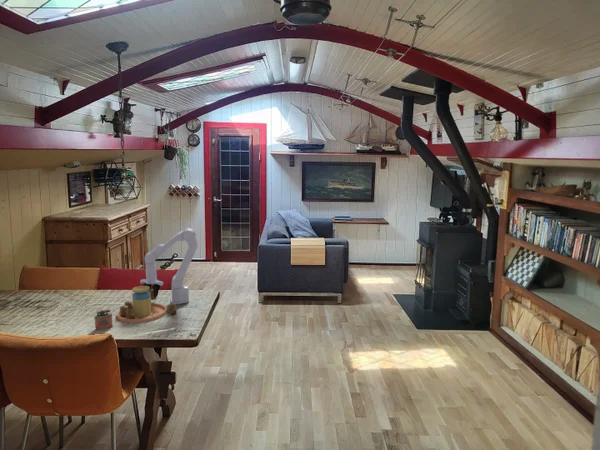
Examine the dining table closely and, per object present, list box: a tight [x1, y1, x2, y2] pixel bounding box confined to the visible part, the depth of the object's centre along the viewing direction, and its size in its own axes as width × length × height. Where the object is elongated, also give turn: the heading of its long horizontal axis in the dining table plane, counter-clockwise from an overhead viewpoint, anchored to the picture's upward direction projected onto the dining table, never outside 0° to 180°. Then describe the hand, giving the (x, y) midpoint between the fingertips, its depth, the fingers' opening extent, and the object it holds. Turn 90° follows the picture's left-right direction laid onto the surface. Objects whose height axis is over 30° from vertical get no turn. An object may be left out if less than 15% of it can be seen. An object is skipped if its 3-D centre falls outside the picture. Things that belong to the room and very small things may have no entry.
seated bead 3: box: [126, 309, 136, 319], centre depth 225 cm, size 4×4×5 cm
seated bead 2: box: [124, 300, 133, 309], centre depth 236 cm, size 4×4×5 cm
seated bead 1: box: [119, 305, 128, 317], centre depth 230 cm, size 4×4×5 cm
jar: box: [132, 285, 153, 317], centre depth 233 cm, size 9×9×15 cm
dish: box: [116, 302, 168, 324], centre depth 234 cm, size 25×25×2 cm
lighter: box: [94, 308, 114, 331], centre depth 214 cm, size 8×3×10 cm, turn 118°
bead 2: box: [167, 303, 177, 316], centre depth 235 cm, size 4×4×5 cm
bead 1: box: [149, 288, 157, 301], centre depth 250 cm, size 4×4×5 cm
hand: (152, 296), depth 250 cm, fingers closed on bead 1, 4 cm apart
